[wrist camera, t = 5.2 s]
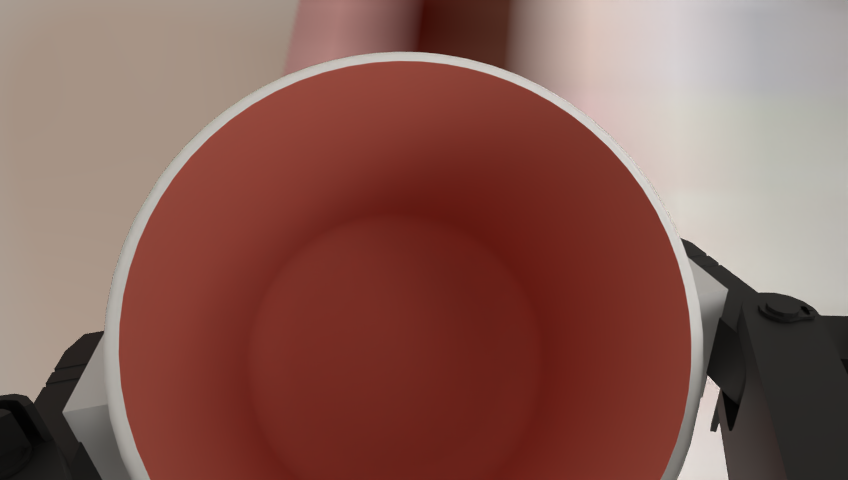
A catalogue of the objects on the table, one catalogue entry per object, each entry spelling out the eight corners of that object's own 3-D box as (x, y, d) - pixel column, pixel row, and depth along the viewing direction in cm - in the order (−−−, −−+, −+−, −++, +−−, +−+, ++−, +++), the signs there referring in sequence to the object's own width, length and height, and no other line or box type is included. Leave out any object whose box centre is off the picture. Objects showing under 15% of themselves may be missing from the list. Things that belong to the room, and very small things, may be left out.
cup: (500, 559, 17) (656, 760, 7) (197, 462, 17) (-32, 534, 8) (567, 265, 20) (740, 138, 10) (310, 184, 20) (248, -15, 11)
